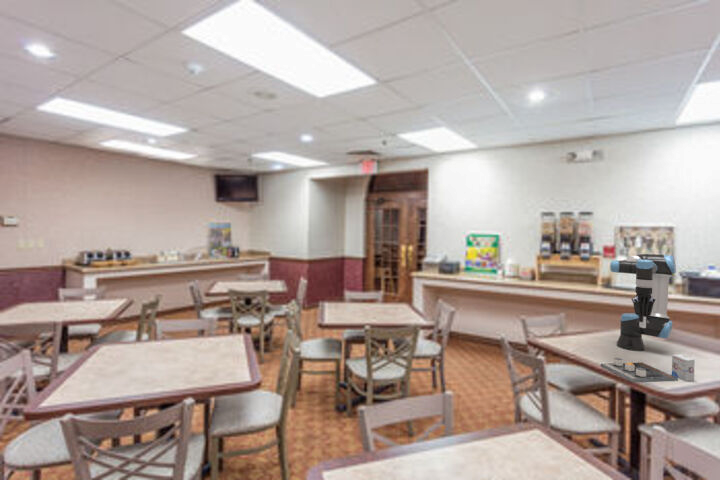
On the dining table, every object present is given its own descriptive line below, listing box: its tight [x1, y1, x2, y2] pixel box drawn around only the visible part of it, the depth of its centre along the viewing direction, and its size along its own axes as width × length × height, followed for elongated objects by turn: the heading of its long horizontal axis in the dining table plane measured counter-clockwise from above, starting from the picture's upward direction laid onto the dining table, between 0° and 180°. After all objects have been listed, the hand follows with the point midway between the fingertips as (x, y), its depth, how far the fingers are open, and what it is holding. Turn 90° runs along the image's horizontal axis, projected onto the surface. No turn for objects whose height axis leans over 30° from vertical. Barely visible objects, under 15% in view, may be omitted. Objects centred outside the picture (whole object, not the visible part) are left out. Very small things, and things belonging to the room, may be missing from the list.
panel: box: [600, 362, 679, 383], centre depth 199 cm, size 26×22×2 cm
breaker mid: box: [624, 362, 635, 371], centre depth 199 cm, size 3×3×4 cm
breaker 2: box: [636, 368, 646, 377], centre depth 191 cm, size 3×3×4 cm
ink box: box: [671, 353, 695, 382], centre depth 193 cm, size 9×5×12 cm, turn 5°
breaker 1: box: [613, 357, 624, 366], centre depth 206 cm, size 3×3×4 cm
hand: (642, 327), depth 204 cm, fingers closed
